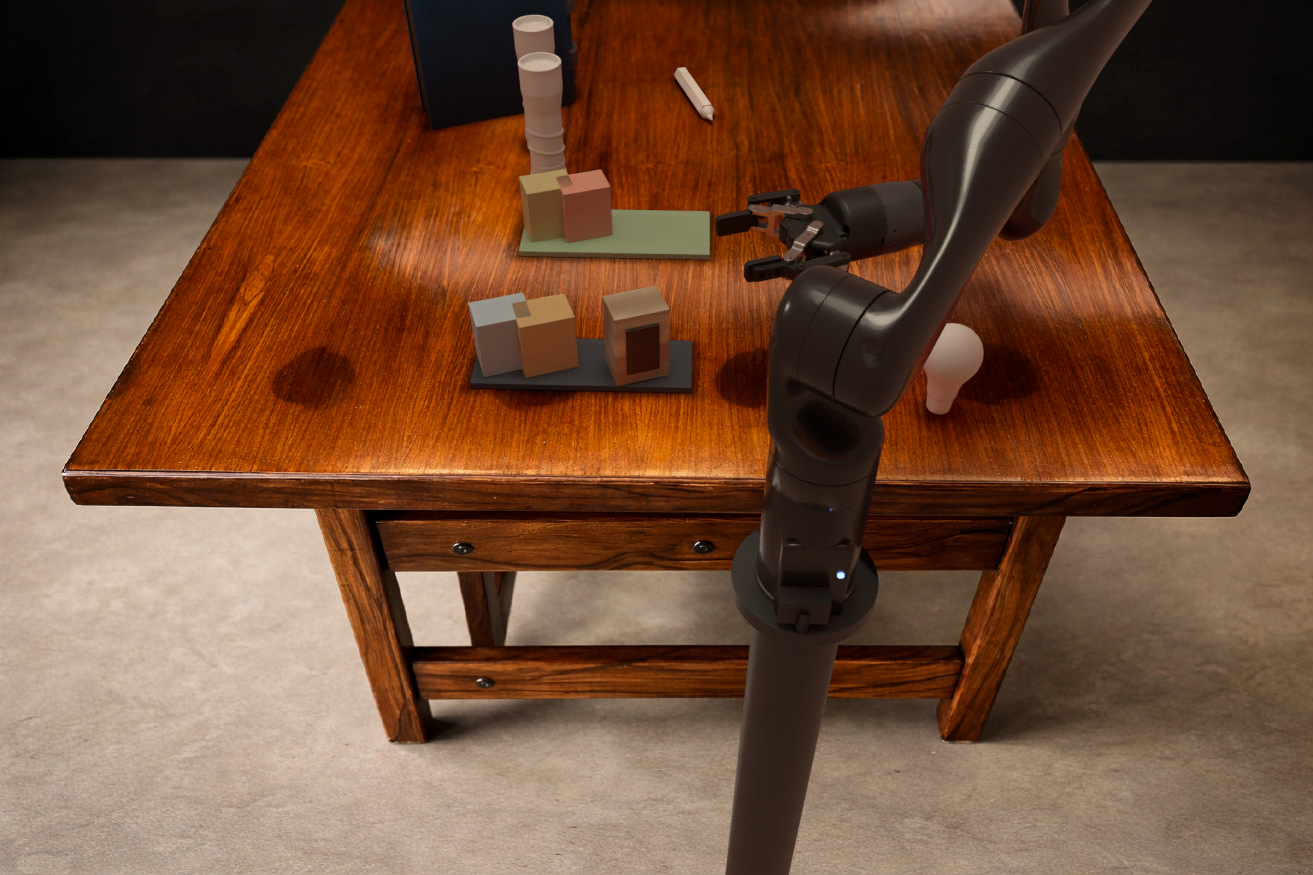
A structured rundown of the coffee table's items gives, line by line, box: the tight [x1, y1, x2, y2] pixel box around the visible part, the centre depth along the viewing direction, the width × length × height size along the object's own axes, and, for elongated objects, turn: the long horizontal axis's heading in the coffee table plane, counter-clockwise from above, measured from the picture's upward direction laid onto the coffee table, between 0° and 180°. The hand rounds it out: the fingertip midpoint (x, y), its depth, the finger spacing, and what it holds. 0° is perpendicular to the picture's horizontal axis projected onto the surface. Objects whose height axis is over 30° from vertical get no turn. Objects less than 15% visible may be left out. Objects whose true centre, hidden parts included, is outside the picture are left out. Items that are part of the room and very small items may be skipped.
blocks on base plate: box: [467, 292, 693, 394], centre depth 111 cm, size 8×24×8 cm, turn 88°
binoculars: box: [512, 15, 568, 175], centre depth 138 cm, size 17×5×18 cm, turn 9°
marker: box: [673, 66, 716, 122], centre depth 157 cm, size 3×2×16 cm
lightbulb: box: [922, 322, 985, 415], centre depth 104 cm, size 6×6×11 cm
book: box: [402, 0, 579, 131], centre depth 148 cm, size 24×9×30 cm, turn 111°
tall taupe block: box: [602, 285, 671, 386], centre depth 109 cm, size 5×6×9 cm
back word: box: [518, 168, 711, 261], centre depth 129 cm, size 10×24×8 cm, turn 88°
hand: (730, 249), depth 105 cm, fingers open, 8 cm apart
